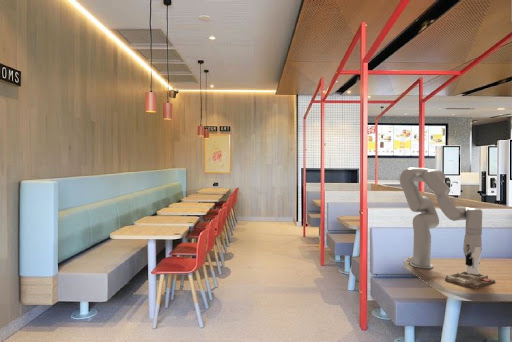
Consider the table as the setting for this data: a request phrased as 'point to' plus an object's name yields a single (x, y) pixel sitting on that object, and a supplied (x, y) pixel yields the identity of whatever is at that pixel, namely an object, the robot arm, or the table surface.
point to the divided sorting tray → (469, 279)
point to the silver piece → (474, 262)
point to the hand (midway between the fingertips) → (472, 264)
